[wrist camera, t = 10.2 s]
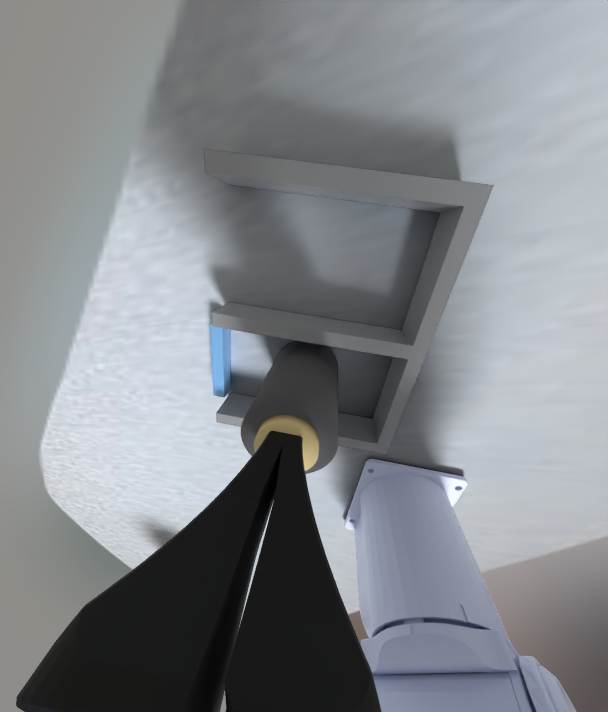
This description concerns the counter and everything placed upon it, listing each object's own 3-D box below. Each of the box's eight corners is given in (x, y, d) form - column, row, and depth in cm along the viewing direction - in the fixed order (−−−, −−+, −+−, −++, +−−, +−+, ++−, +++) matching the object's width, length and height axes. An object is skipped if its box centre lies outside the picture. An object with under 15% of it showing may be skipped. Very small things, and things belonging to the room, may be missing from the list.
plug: (331, 398, 18) (327, 494, 11) (273, 386, 18) (234, 474, 11) (344, 344, 16) (348, 420, 9) (279, 332, 16) (236, 398, 9)
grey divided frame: (380, 428, 18) (386, 454, 16) (221, 398, 19) (205, 420, 17) (463, 195, 12) (493, 185, 9) (213, 163, 12) (185, 146, 10)
